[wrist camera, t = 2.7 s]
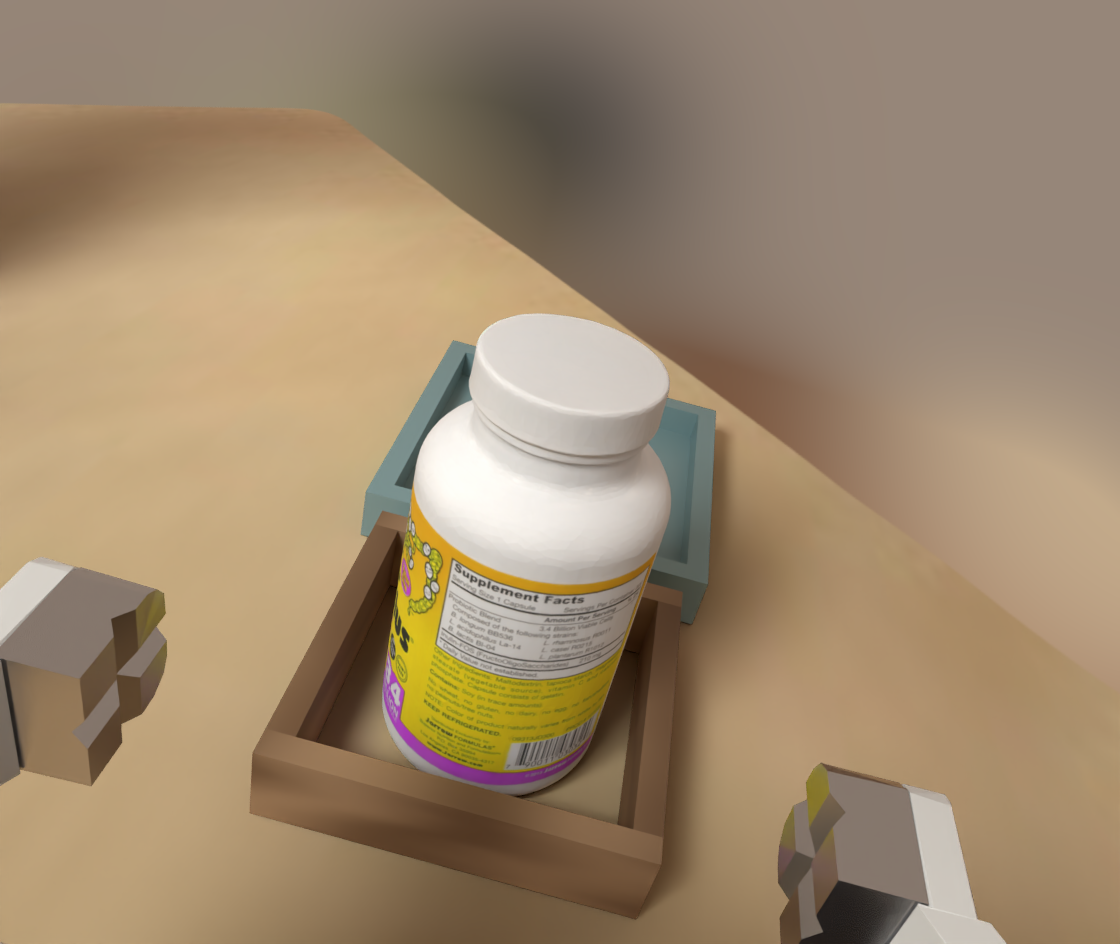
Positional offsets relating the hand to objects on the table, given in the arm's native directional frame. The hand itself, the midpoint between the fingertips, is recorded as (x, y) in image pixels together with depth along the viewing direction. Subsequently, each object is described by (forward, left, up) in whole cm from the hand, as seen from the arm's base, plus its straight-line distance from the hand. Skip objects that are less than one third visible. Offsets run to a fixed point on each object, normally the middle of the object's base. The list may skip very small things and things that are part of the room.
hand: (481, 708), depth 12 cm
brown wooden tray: (0, +12, -14) cm, 19 cm away
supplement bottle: (0, +12, -14) cm, 19 cm away
